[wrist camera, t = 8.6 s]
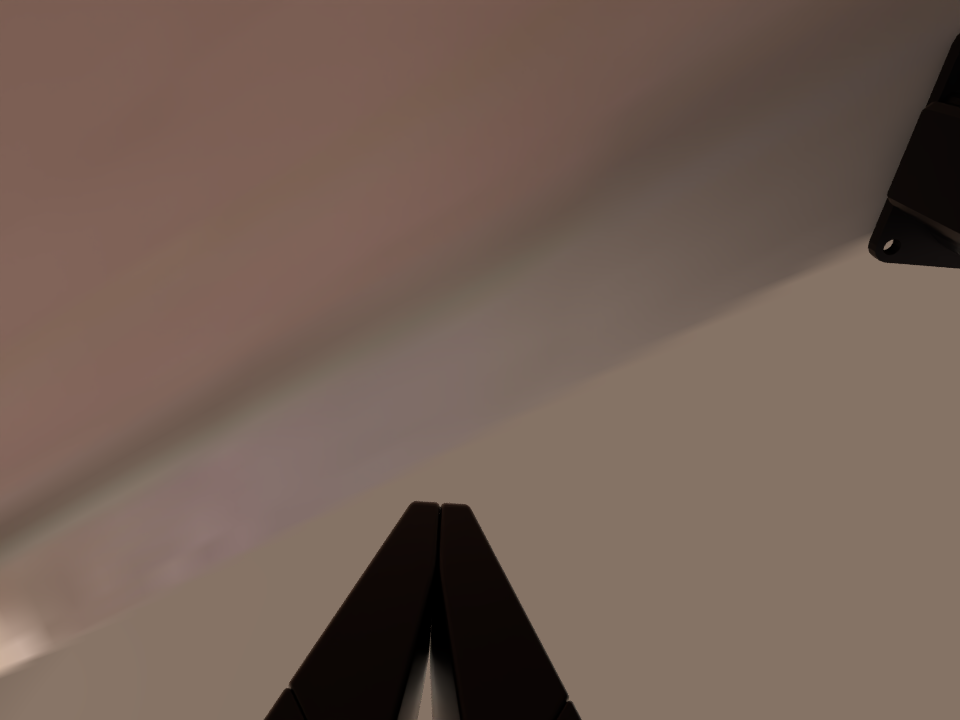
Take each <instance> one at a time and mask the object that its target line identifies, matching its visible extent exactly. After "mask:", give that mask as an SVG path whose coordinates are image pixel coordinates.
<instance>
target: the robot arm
mask: <svg viewBox="0 0 960 720" xmlns="http://www.w3.org/2000/svg"><path fill="white" fill-rule="evenodd" d="M887 196H888V198H887V200H886V203H885V205H884V208H883V210H882V212H881V215H880V217H879V219H878V222H877V224H876V227H875V229H874V231H873V234H872V236H871V238H870V241H869V245H868V249H869V253H870V254H871V255H872V256H874V257H875V258H876V259H878V260H879V261H882V262H887V263H898V264H910V265H923V266H935V267H947V268H960V34H959V35H958V36H957V37H956V39H955V40H954V42H953V44H952V46H951V48H950V50H949V53H948V55H947V58H946V60H945V62H944V65H943V67H942V70H941V72H940V74H939V77H938V79H937V81H936V84H935V86H934V89H933V91H932V93H931V96H930V98H929V100H928V103H927V105H926V108H924V109H923V110H922V112H921V114H920V117H919V119H918V122H917V124H916V126H915V129H914V131H913V134H912V136H911V138H910V141H909V143H908V145H907V148H906V150H905V153H904V155H903V157H902V160H901V162H900V165H899V167H898V169H897V172H896V174H895V177H894V179H893V181H892V184H891V186H890V188H889V191H888V194H887ZM893 239H894V240H893ZM890 240H893V244H892V245H891V247H889V248H888V249H886V250H883V249H884V246H885V244H886V243H887V242H888V241H890ZM431 625H432V626H431ZM430 637H431V641H430ZM429 647H430V679H431V698H432V717H433V720H581V718H580V716H579V714H578V712H577V710H576V708H575V706H574V704H573V702H572V701H568V700H569V695H568V693H567V691H566V689H565V687H564V685H563V684H562V682H561V680H560V678H559V676H558V674H557V672H556V670H555V668H554V666H553V664H552V663H551V661H550V659H549V657H548V655H547V653H546V651H545V649H544V647H543V645H542V643H541V641H540V640H539V638H538V636H537V634H536V632H535V630H534V628H533V626H532V624H531V622H530V621H529V619H528V617H527V615H526V613H525V611H524V609H523V607H522V605H521V604H520V601H519V600H518V598H517V596H516V594H515V592H514V590H513V588H512V586H511V584H510V582H509V580H508V578H507V577H506V575H505V573H504V571H503V569H502V567H501V566H500V563H499V561H498V560H497V557H496V556H495V554H494V552H493V550H492V548H491V546H490V544H489V542H488V540H487V539H486V537H485V535H484V533H483V531H482V529H481V527H480V525H479V523H478V521H477V519H476V517H475V516H474V514H473V512H472V510H471V508H470V507H469V506H468V505H466V504H452V503H444V504H442V505H441V507H440V506H439V504H438V503H435V502H420V501H414V502H413V503H411V504H410V505H409V507H408V508H407V509H406V511H405V512H404V514H403V515H402V517H401V518H400V520H399V522H398V523H397V524H396V526H395V527H394V529H393V530H392V532H391V533H390V535H389V536H388V537H387V539H386V541H385V542H384V543H383V545H382V546H381V548H380V549H379V551H378V552H377V554H376V555H375V557H374V558H373V560H372V561H371V563H370V564H369V566H368V567H367V569H366V570H365V571H364V573H363V574H362V576H361V578H360V579H359V580H358V582H357V583H356V585H355V586H354V588H353V589H352V591H351V592H350V594H349V595H348V597H347V598H346V600H345V601H344V603H343V604H342V606H341V607H340V608H339V610H338V611H337V613H336V614H335V616H334V617H333V619H332V620H331V622H330V623H329V625H328V626H327V628H326V629H325V631H324V632H323V634H322V635H321V637H320V638H319V640H318V641H317V642H316V644H315V645H314V647H313V648H312V650H311V651H310V653H309V654H308V656H307V657H306V659H305V660H304V662H303V663H302V665H301V666H300V668H299V669H298V671H297V672H296V674H295V675H294V676H293V678H292V679H291V681H290V682H289V688H286V689H285V690H284V691H283V692H282V694H281V695H280V697H279V698H278V700H277V701H276V703H275V704H274V706H273V707H272V709H271V710H270V711H269V713H268V715H267V716H266V717H265V719H264V720H417V718H418V713H419V708H420V703H421V697H422V692H423V687H424V681H425V676H426V670H427V663H428V657H429Z"/></svg>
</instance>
